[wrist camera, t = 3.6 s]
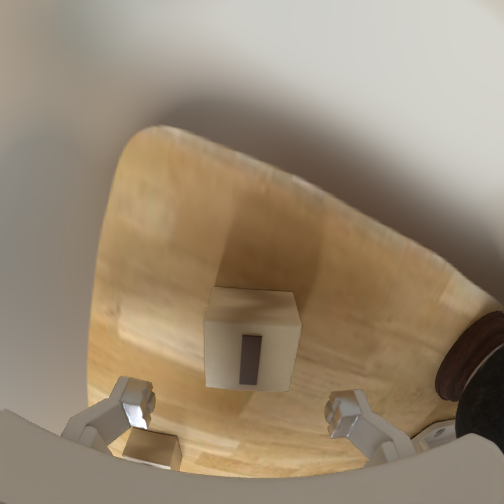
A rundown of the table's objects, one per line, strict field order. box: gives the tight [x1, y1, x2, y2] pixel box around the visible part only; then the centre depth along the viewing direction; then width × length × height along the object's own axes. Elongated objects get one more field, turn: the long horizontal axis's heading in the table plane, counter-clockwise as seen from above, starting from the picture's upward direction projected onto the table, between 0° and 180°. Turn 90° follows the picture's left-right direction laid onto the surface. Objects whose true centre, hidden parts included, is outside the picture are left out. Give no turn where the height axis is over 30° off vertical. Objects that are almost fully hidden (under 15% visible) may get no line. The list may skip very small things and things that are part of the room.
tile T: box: [122, 428, 182, 471], centre depth 22 cm, size 5×5×4 cm
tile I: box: [203, 287, 302, 392], centre depth 16 cm, size 5×5×4 cm
